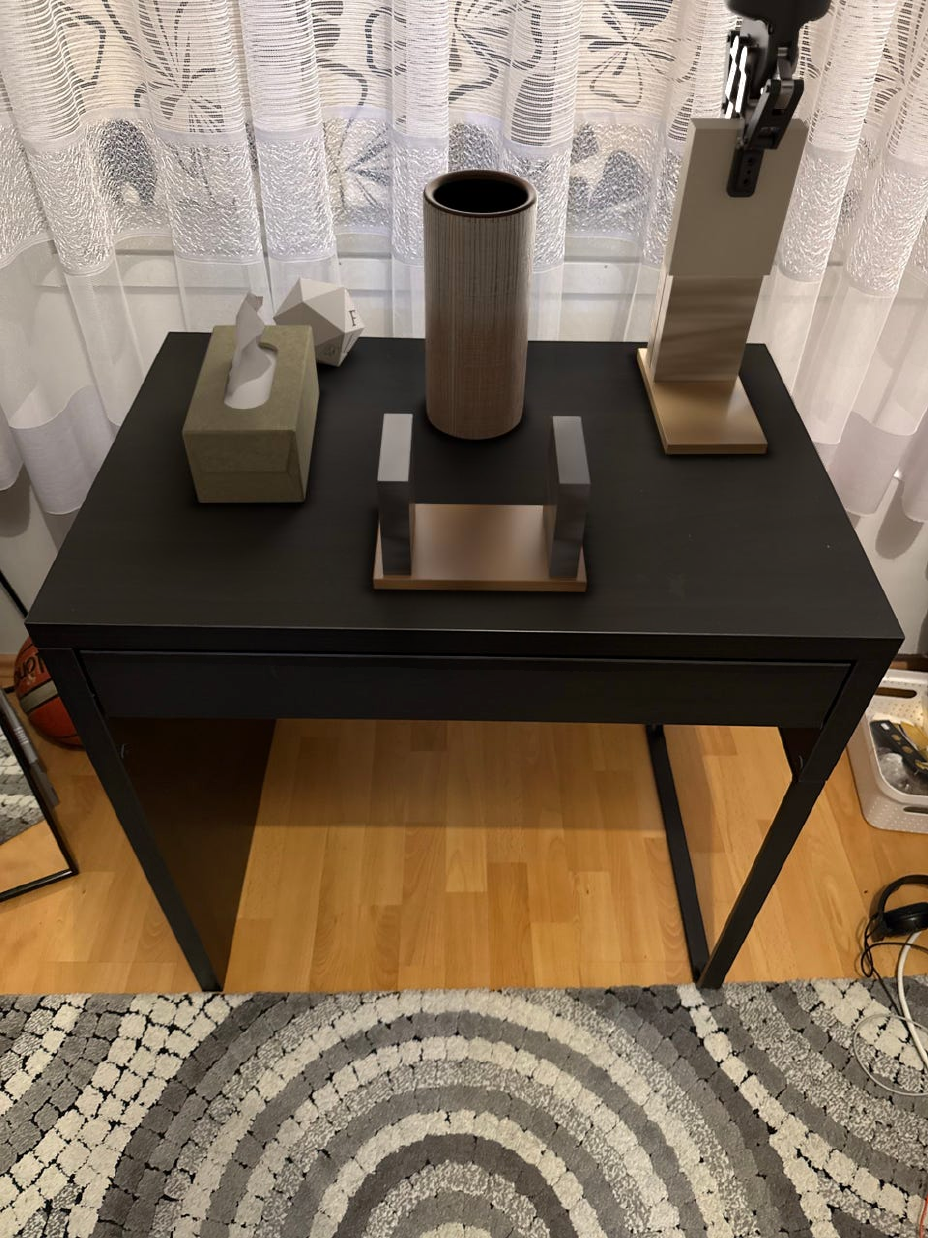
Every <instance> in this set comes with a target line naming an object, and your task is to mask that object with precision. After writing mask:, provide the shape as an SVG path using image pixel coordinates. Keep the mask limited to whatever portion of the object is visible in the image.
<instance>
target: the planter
mask: <svg viewBox="0 0 928 1238" xmlns="http://www.w3.org/2000/svg"><path fill="white" fill-rule="evenodd" d="M538 203H539V193H538V191H537V189H536V187H535V186H534V185H533V184H532V183H531V182H530V181H529V180H527V179H525V178H524V177H522V176H519V175H516V174H515V173H510V172H508V171H503V170H497V169H486V168H469V169H459V170H453V171H449V172H446V173H443V174H440V175H438V176H436V177H434V178H433V179H431V180H430V181H428V182H427V184H426V185H425V186H424V189H423V191H422V229H423V231H422V232H423V233H422V236H423V238H422V239H423V295H424V296H423V297H424V298H423V299H424V352H425V353H424V355H425V356H424V358H425V361H424V363H425V404H426V405H425V406H426V415H427V418H428V420H429V422H430V423H431V424H432V425H433V426H434V427H435V428H436V429H438V430H439V431H440V432H443V433H444V434H447V435H449V436H452V437H455V438H457V439H463V440H473V441H474V440H489V439H493V438H496V437H499V436H502V435H504V434H506V433H509V432H510V431H512V430H513V429H515V428H516V427H517V425H518V424H519V423H520V422H521V419H522V415H523V408H524V397H525V396H524V395H525V383H526V368H527V354H528V341H529V330H530V329H529V326H530V316H531V315H530V313H531V303H532V302H531V299H532V287H533V273H534V261H535V260H534V259H535V245H536V231H537V219H538V218H537V217H538V206H539V205H538Z"/></svg>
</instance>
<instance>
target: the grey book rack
mask: <svg viewBox="0 0 928 1238" xmlns="http://www.w3.org/2000/svg"><path fill="white" fill-rule="evenodd" d="M413 418H414V415H413V414H412V413H384V414H383V417H382V426H381V427H382V428H381V439H380V449H379V457H378V466H377V478H376V490H377V504H378V505H377V506H378V527H377V536H376V545H375V555H374V565H373V566H374V567H373V575H372V576H373V577H372V583H373V589H374V590H417V591H418V590H419V591H420V590H423V591H425V590H426V591H429V590H430V591H496V592H498V591H502V592H505V591H506V592H508V591H509V592H576V593H577V592H580V593H581V592H582V593H585V592H586V590H587V584H588V579H587V572H586V564H585V556H584V548H583V539H584V534H585V533H584V532H585V524H586V518H587V513H588V506H589V505H588V504H589V499H590V491H591V484H592V483H591V477H590V471H589V463H588V457H587V449H586V444H585V443H586V442H585V437H584V430H583V429H584V428H583V423H582V417H581V416H572V415H571V416H567V415H566V416H565V415H564V416H563V415H562V416H561V415H553V416H551V422H550V431H549V432H550V434H549V442H548V452H547V453H548V454H547V462H546V473H545V483H544V493H543V501H542V502H543V503H542V505H541V504H540V505H534V504H533V505H531V504H530V505H529V504H462V503H461V504H459V503H457V504H456V503H455V504H451V503H449V504H448V503H416V483H415V482H416V481H415V449H414V447H415V446H414V445H415V444H414V419H413Z"/></svg>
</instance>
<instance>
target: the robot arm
mask: <svg viewBox="0 0 928 1238" xmlns="http://www.w3.org/2000/svg"><path fill="white" fill-rule="evenodd" d="M831 4H832V0H723V5H724V7H725V8H726V10H727V11H728V12H729V13H731V14H732V15H734V16H737V17H739V18H742V21H741V24H740V29H729V30H728V31H727V35H726V36H725V51H724V53H725V54H724V64H723V77H722V88H721V89H722V90H721V91H722V92H721V101H720V107H719V108H720V114H721V115H725V117H724V118H740V122H739V128H738V133H737V138H736V147H735V150H734V155H733V159H732V164H731V168H730V173H729V178H728V182H727V187H726V191H727V193H728V195H729V196H730V197H733V198H747V197H751V196H752V195H753V194H754V192H755V189H756V184H757V180H758V176H759V172H760V168H761V164H762V159H763V155H764V151H765V149H767V150H768V149H770V150H777V149H778V147H779V144H780V142H781V140H782V138H783V136H784V134H785V131H786V129H787V127H788V125H789V123H790V121H791V119H792V118H793V117H794V115H795V112H796V110H797V107H798V106H799V104H800V102H801V99H802V97H803V95H804V92H805V79H803V78H798V79H797V78H793V75H794V74H795V73H796V71H797V67H798V62H799V57H800V47H799V40H800V31H801V29H802V27H803V26H805V25H806V24H808V23H809V22H811V23H812V22H816V21H818V20H819V21H820V20H821V19H823V18H824V17H825V16H826V15H827V13H829V11H830V7H831ZM750 121H751V122H750ZM762 128H763V131H760V130H761V129H762Z"/></svg>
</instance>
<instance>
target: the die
mask: <svg viewBox="0 0 928 1238" xmlns="http://www.w3.org/2000/svg"><path fill="white" fill-rule="evenodd" d="M272 320H273V321H274V324H275V325H310V326H311V327H312V333H313V342H314V351H315V360H316V363H319V364H323V365H324V364H325V365H327V366H328V365H329V366H334V367H340V365H341V364H342V362H343V361H344V359H346V356H347V355H348V353H349V352H350V351H351V349H352V347H353V346H354V344H355V343H356V342H357V340H358V339H359V337H360V335H361V334H362V333H363V331H364V329H365V328H366V326H365V324H364V322H363V320H362V318H361V316H360V314H359V312H358V310H357V308H356V306H355V304H354V302H353V300H352V298H351V296H350V293H349V292H348V290H347V288H346V286H345V285H340V284H336V283H331V282H326V281H320V280H315V279H309V278H305V277H299V278H298V279H297V281H296V283H295V284H294V285H293V287H292V289H291V290H290V291H289V293H288V295H287V296H286V298H285V299H284V300H283V302H282V303H281V305H280V307H279V308H278V309H277V310H276V312H275V314H274V315H273V317H272Z"/></svg>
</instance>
